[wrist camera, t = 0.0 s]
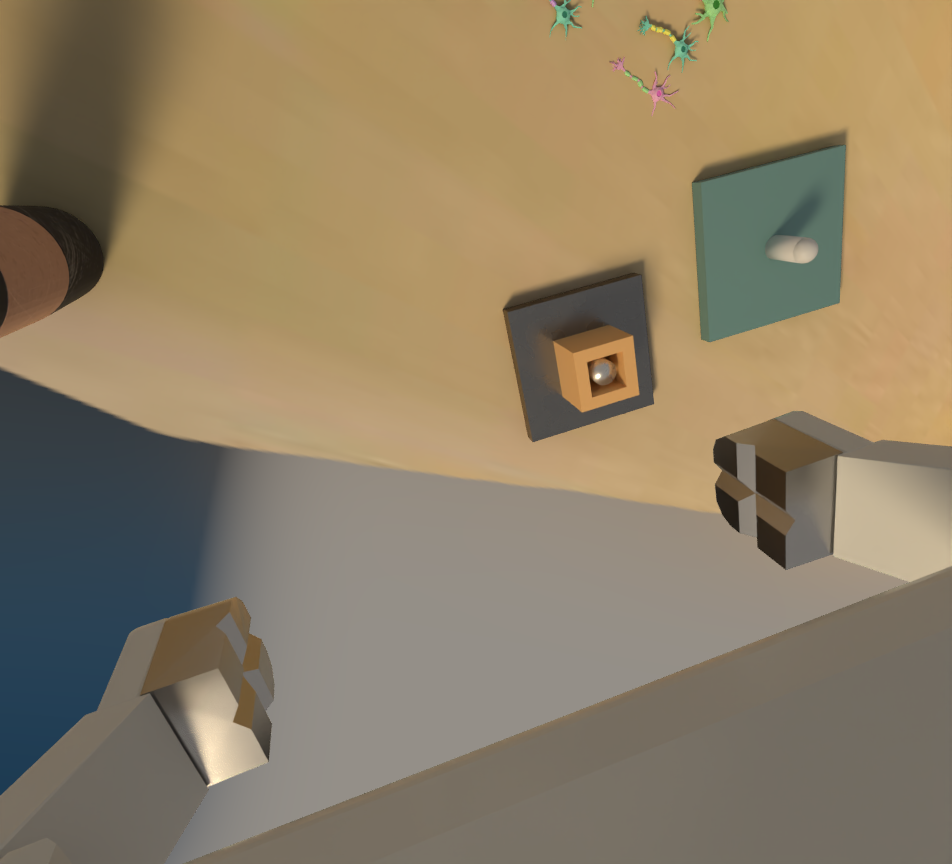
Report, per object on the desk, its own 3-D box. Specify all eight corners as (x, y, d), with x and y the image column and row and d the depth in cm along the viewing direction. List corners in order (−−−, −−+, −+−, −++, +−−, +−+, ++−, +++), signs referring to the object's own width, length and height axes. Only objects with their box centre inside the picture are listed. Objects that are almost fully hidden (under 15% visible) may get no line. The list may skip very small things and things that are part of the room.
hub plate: (691, 182, 58) (735, 181, 52) (833, 145, 61) (891, 141, 55) (701, 339, 65) (741, 354, 59) (828, 300, 67) (879, 311, 61)
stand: (502, 309, 58) (522, 321, 53) (633, 272, 60) (665, 280, 55) (528, 436, 64) (548, 459, 59) (646, 399, 66) (676, 418, 61)
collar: (553, 340, 59) (573, 353, 55) (608, 324, 60) (632, 335, 56) (562, 396, 62) (582, 412, 57) (615, 379, 63) (639, 394, 58)
